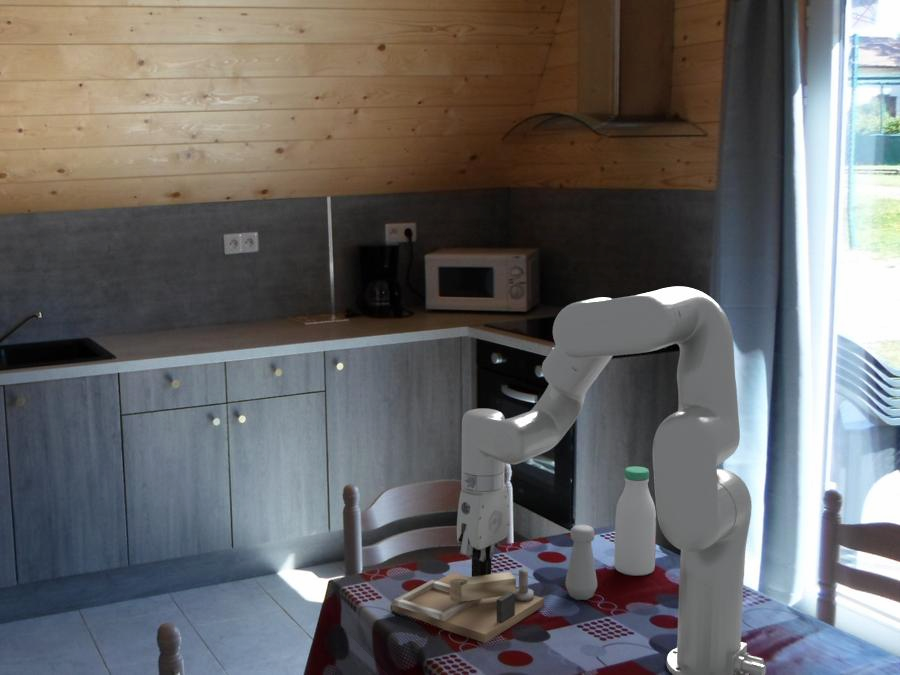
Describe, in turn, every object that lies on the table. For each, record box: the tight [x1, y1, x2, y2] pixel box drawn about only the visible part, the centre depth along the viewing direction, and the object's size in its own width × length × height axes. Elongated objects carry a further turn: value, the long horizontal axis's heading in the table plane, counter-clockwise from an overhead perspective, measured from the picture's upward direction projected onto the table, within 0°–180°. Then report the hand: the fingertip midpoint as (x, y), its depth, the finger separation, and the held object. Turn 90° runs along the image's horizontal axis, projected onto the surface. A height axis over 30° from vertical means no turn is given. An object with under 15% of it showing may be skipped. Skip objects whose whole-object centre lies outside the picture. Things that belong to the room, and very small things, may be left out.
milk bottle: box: [613, 465, 657, 577], centre depth 203 cm, size 8×8×20 cm
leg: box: [450, 571, 517, 602], centre depth 185 cm, size 12×3×3 cm, turn 107°
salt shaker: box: [565, 524, 598, 601], centre depth 192 cm, size 6×6×13 cm
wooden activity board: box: [391, 568, 545, 644], centre depth 186 cm, size 20×18×6 cm
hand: (481, 578), depth 189 cm, fingers closed
